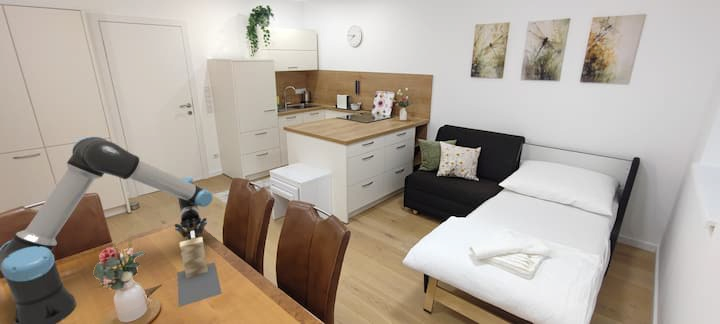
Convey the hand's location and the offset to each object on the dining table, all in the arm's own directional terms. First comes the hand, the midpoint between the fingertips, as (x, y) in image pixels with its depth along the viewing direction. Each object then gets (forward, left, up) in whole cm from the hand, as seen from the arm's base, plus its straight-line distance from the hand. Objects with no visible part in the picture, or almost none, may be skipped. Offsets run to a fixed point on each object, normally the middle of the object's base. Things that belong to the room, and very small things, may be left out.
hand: (193, 240), depth 132 cm
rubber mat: (+2, -11, -13) cm, 17 cm away
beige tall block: (0, -4, -12) cm, 13 cm away
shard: (-17, -13, -14) cm, 25 cm away
